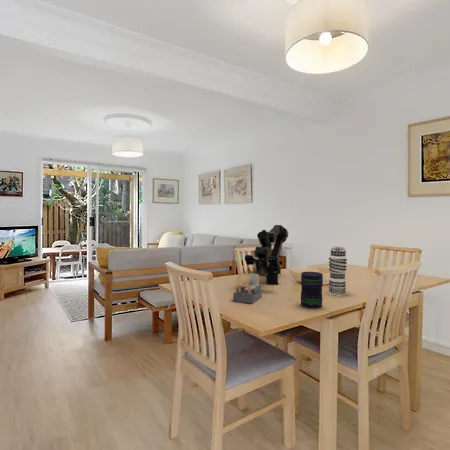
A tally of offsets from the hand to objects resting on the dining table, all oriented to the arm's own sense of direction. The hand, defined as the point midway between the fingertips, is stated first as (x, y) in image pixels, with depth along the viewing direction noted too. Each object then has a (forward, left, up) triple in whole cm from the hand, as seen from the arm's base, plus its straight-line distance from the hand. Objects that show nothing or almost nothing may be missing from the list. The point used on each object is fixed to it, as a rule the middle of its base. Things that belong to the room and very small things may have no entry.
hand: (257, 273), depth 175 cm
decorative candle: (-42, -3, -11) cm, 43 cm away
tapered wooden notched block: (+3, +9, -6) cm, 12 cm away
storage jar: (-25, +20, -11) cm, 33 cm away
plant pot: (-5, -52, -11) cm, 54 cm away
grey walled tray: (+5, +13, -10) cm, 18 cm away
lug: (+6, +17, -7) cm, 20 cm away
